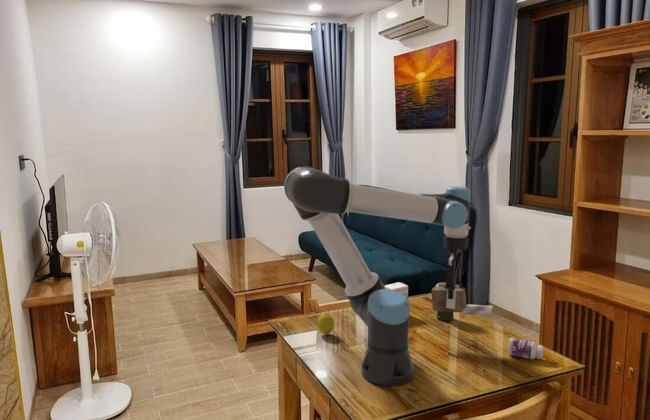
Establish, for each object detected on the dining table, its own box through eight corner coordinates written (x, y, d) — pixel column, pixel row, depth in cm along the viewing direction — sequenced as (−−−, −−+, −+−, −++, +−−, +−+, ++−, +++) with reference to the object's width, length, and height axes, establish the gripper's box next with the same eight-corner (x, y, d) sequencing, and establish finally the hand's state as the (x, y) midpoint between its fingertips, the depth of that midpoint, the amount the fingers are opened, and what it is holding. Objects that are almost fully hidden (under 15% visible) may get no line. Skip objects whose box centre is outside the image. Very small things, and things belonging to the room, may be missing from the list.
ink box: (391, 319, 185) (391, 289, 183) (382, 315, 189) (382, 285, 188) (408, 314, 190) (408, 285, 188) (399, 310, 194) (399, 281, 192)
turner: (431, 312, 162) (430, 291, 161) (437, 305, 168) (435, 285, 167) (489, 315, 153) (487, 293, 152) (492, 308, 159) (491, 287, 158)
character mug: (427, 316, 188) (428, 283, 186) (441, 312, 192) (442, 280, 190) (448, 325, 179) (450, 291, 177) (462, 321, 183) (464, 287, 181)
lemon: (334, 331, 174) (334, 310, 173) (333, 338, 169) (333, 316, 167) (318, 331, 175) (318, 309, 173) (316, 337, 169) (316, 315, 168)
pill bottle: (509, 334, 155) (543, 340, 151) (511, 341, 159) (543, 347, 155) (507, 351, 153) (541, 357, 148) (508, 357, 157) (541, 363, 152)
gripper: (462, 241, 149) (458, 316, 153) (473, 232, 164) (469, 300, 167) (437, 239, 152) (433, 312, 156) (450, 229, 167) (447, 296, 171)
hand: (452, 305), depth 162 cm, fingers closed on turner, 4 cm apart
